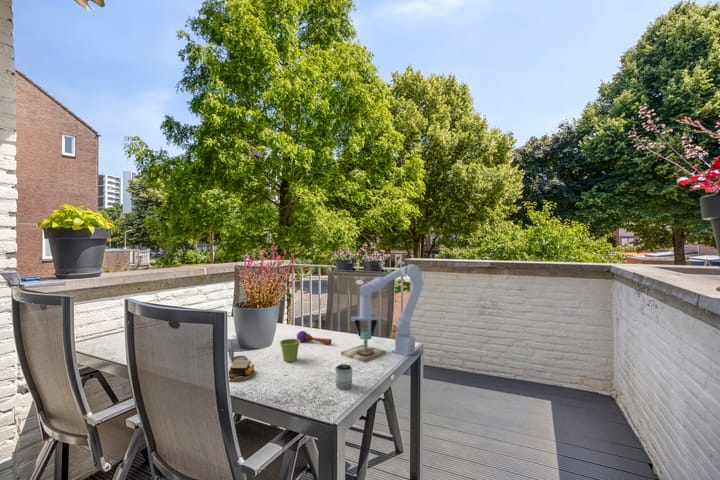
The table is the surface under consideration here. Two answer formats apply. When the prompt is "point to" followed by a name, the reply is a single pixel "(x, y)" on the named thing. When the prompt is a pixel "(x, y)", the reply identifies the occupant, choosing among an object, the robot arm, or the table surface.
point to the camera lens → (343, 376)
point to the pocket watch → (231, 354)
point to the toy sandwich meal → (241, 370)
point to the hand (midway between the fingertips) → (365, 335)
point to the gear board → (363, 352)
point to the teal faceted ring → (365, 334)
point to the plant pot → (290, 349)
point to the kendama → (311, 338)
